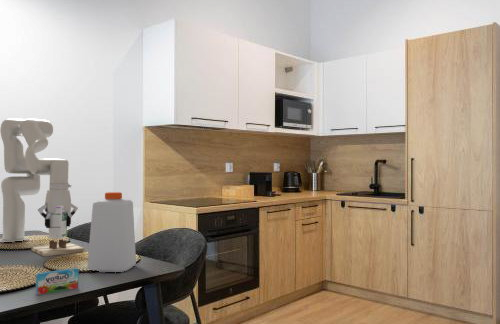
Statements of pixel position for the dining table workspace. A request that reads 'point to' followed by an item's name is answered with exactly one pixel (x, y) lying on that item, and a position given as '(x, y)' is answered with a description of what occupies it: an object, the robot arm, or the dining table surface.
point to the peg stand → (57, 248)
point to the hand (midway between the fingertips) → (57, 226)
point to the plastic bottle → (112, 235)
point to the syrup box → (58, 223)
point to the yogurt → (57, 281)
